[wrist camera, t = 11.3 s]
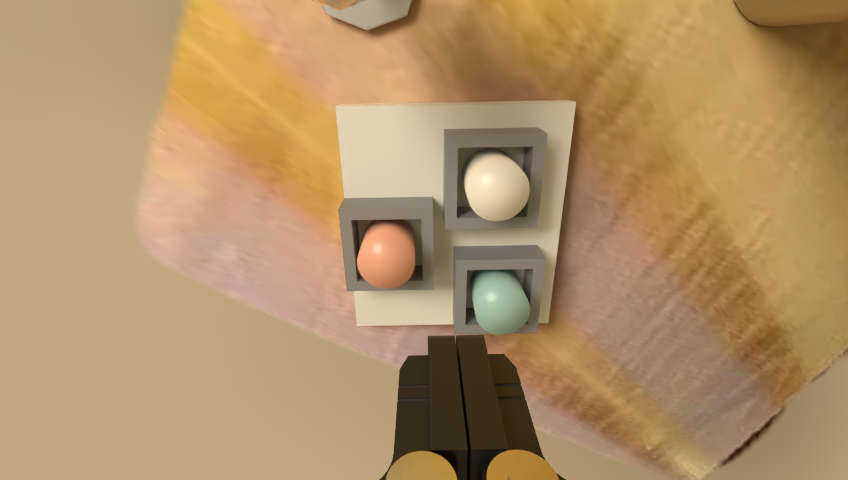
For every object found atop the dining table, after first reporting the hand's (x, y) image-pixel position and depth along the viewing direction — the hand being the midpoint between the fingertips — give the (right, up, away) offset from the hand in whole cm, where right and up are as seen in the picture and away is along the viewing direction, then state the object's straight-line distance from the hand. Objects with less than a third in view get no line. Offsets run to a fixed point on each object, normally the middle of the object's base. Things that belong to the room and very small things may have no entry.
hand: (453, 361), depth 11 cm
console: (+2, +5, +29) cm, 30 cm away
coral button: (-4, +3, +28) cm, 28 cm away
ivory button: (+5, +9, +25) cm, 27 cm away
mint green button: (+6, -1, +30) cm, 30 cm away
